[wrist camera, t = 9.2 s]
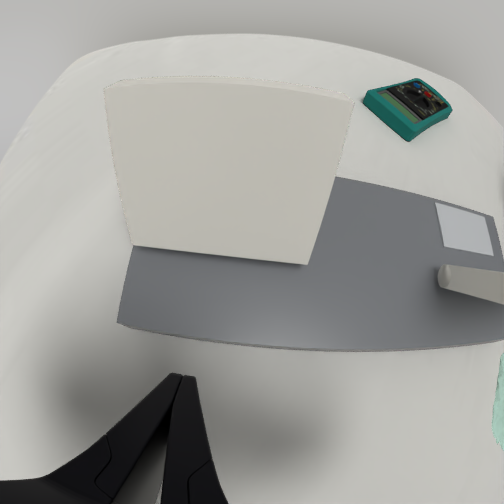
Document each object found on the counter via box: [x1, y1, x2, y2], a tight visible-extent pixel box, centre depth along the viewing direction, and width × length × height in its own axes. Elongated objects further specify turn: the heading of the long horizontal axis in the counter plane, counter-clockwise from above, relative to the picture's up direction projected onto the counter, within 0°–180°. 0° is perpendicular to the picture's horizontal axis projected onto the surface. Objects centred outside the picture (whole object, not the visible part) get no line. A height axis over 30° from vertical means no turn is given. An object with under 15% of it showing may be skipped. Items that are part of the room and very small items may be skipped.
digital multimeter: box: [363, 78, 452, 141], centre depth 27 cm, size 7×15×3 cm, turn 126°
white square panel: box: [104, 76, 354, 265], centre depth 13 cm, size 2×10×10 cm, turn 84°
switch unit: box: [117, 177, 504, 352], centre depth 18 cm, size 12×31×3 cm, turn 84°
